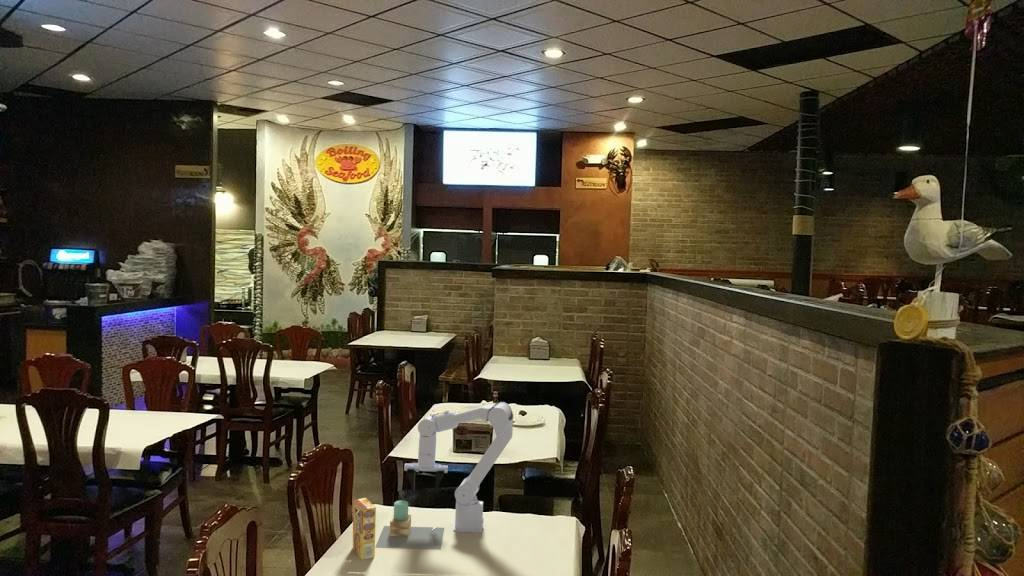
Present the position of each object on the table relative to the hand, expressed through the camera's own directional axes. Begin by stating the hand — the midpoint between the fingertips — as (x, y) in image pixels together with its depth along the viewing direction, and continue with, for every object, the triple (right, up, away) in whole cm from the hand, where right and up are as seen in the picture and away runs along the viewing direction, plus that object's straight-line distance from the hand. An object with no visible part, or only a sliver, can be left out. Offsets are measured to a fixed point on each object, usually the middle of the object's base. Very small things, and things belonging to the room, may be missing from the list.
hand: (424, 492), depth 215 cm
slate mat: (-3, -11, -12) cm, 16 cm away
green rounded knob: (-6, -6, -9) cm, 13 cm away
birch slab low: (-7, -10, -9) cm, 15 cm away
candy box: (-15, -11, -24) cm, 31 cm away
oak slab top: (-7, -8, -9) cm, 14 cm away
